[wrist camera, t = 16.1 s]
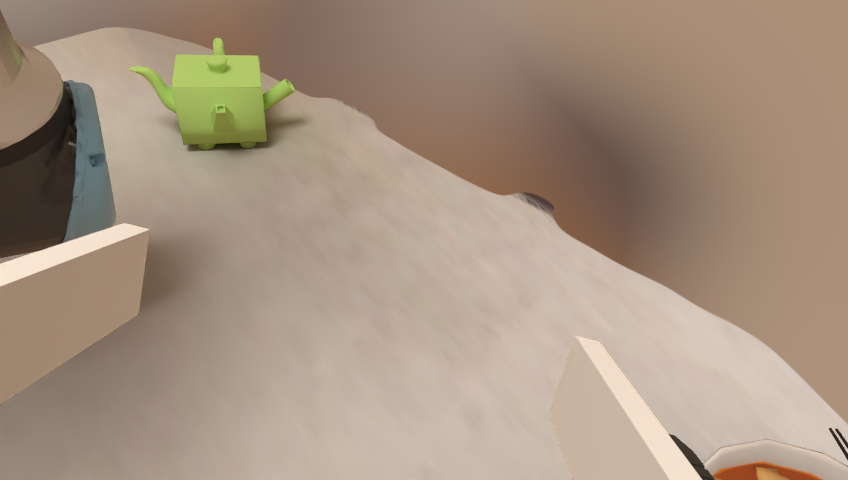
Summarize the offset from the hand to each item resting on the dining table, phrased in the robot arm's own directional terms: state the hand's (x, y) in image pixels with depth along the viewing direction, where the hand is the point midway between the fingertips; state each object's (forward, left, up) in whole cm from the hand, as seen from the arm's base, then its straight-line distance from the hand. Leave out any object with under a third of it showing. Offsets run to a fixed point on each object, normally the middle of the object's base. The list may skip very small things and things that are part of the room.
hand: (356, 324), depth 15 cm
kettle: (-23, +54, -30) cm, 66 cm away
